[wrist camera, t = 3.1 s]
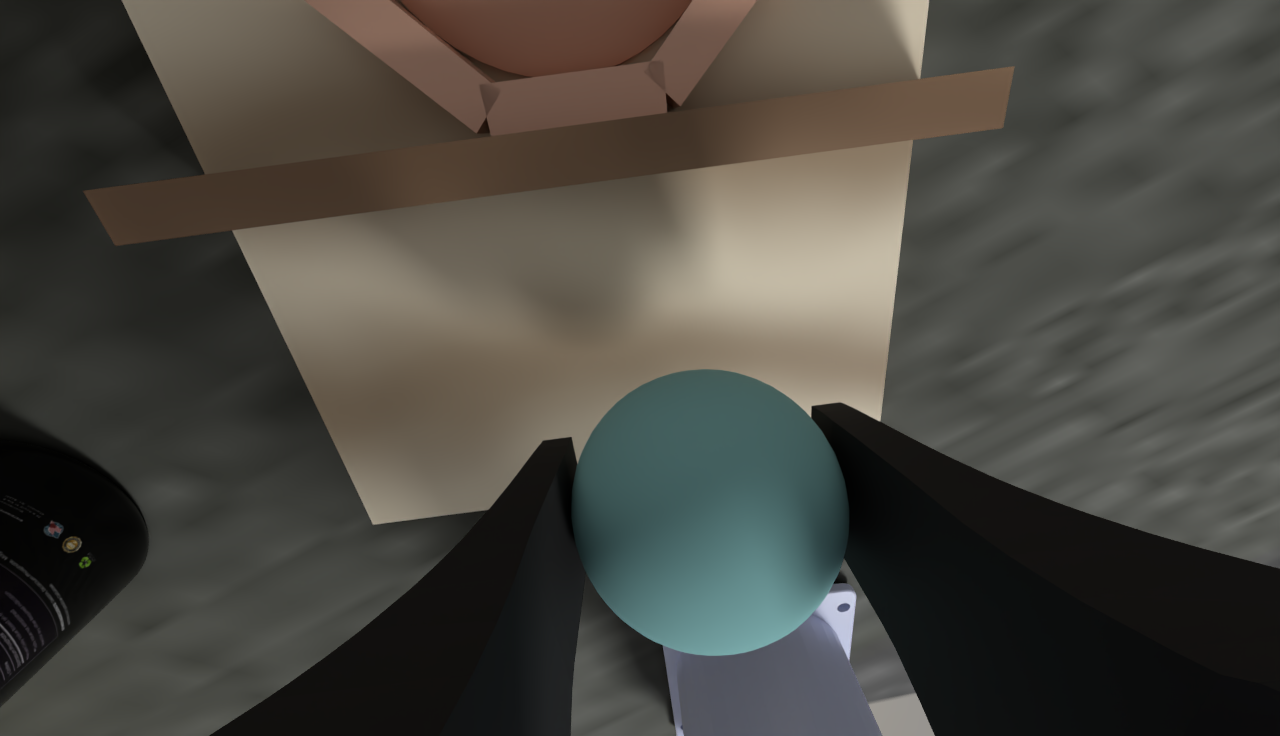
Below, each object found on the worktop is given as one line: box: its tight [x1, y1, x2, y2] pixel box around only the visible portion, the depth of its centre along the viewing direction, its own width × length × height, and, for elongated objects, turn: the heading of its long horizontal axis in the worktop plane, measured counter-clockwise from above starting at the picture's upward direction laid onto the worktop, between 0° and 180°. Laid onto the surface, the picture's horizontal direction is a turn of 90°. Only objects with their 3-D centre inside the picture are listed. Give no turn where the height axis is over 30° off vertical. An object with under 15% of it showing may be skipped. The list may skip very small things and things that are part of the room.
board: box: [83, 0, 1014, 525], centre depth 10 cm, size 22×17×4 cm
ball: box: [571, 369, 849, 656], centre depth 9 cm, size 5×5×5 cm
